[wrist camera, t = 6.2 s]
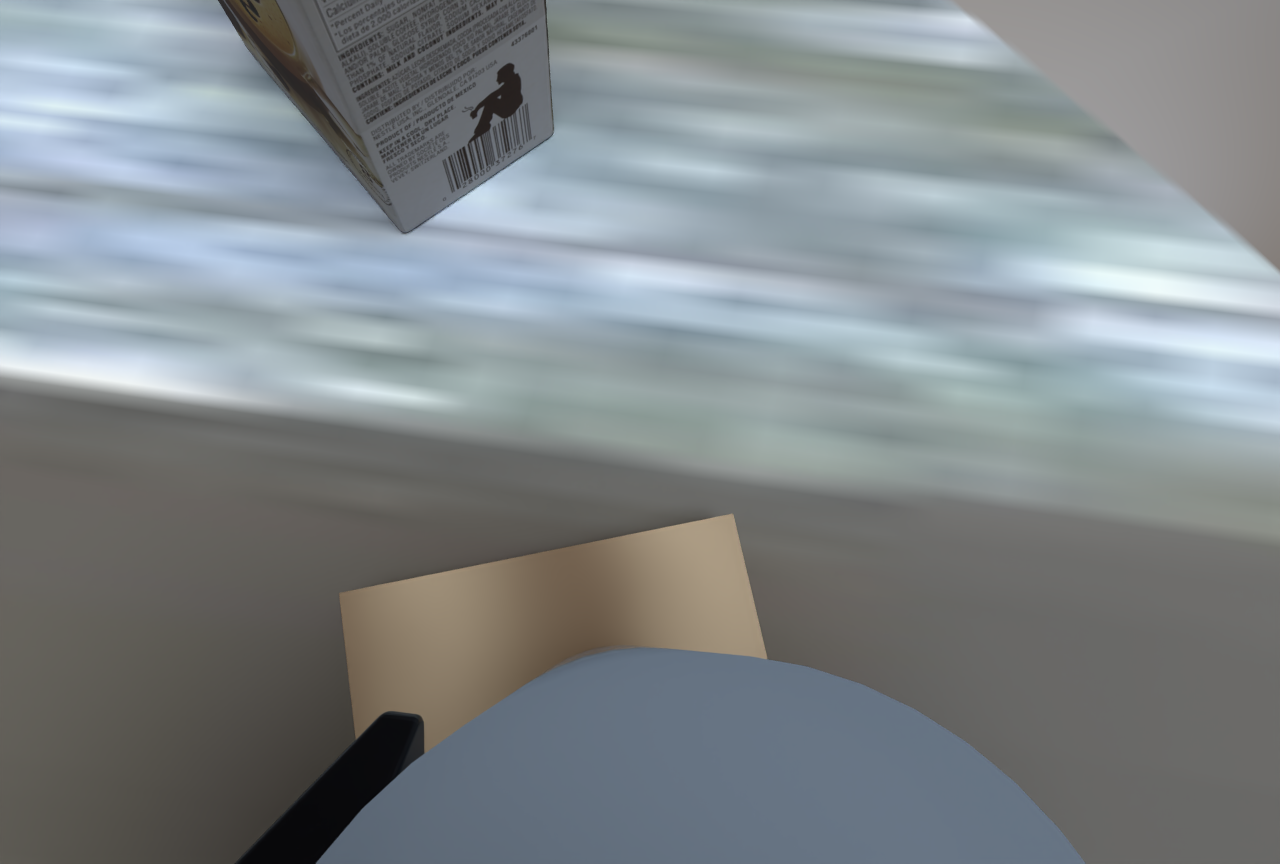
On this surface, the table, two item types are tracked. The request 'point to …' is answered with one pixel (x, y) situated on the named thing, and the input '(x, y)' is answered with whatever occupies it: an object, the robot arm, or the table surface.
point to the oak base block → (541, 620)
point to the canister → (699, 776)
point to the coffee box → (410, 87)
